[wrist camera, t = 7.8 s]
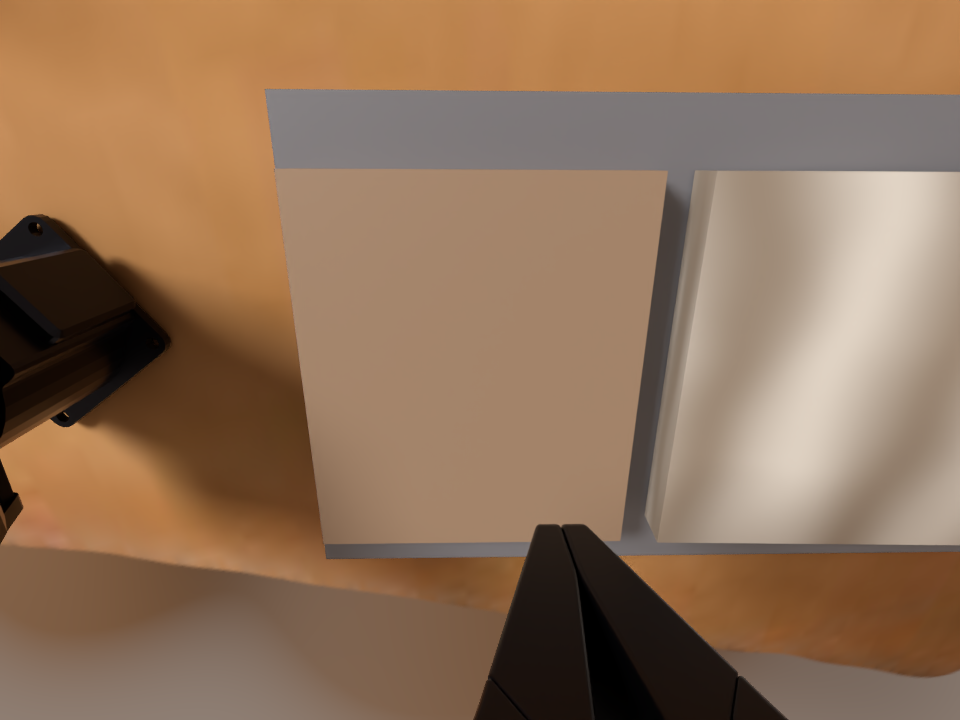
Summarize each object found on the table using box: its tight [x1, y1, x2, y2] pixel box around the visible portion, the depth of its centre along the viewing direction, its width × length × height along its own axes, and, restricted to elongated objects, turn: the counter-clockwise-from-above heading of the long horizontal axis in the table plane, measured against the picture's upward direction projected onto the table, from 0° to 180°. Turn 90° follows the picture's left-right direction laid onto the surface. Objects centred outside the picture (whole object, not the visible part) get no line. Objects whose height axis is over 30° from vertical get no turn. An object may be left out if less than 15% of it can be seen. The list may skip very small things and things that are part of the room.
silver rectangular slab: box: [644, 170, 960, 545], centre depth 16 cm, size 14×12×2 cm
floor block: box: [265, 89, 960, 559], centre depth 18 cm, size 27×16×6 cm, turn 90°
